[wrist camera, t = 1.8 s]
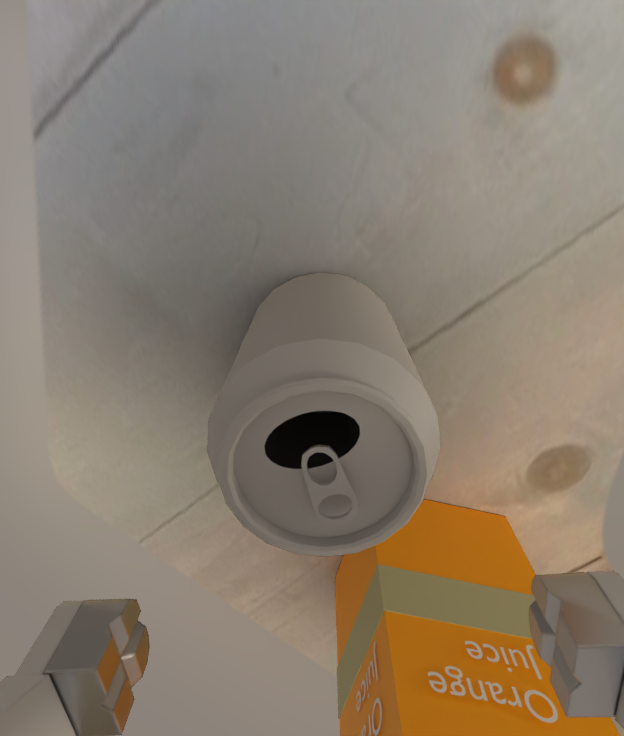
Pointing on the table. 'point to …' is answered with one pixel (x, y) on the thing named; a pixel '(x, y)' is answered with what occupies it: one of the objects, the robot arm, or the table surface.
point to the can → (323, 421)
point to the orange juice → (444, 635)
